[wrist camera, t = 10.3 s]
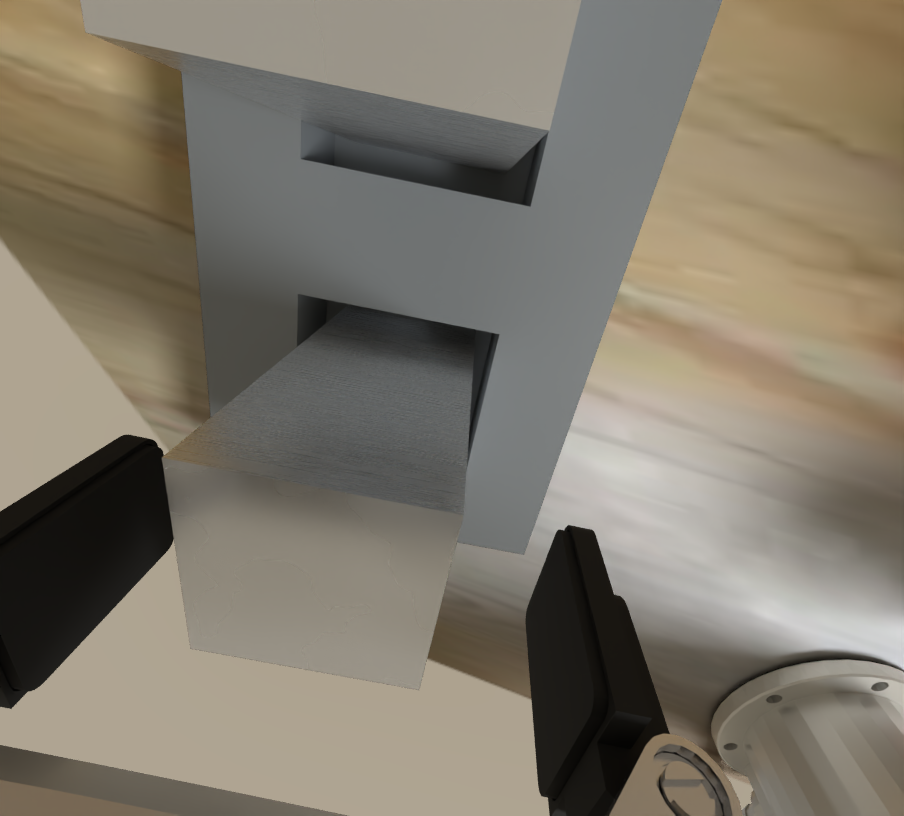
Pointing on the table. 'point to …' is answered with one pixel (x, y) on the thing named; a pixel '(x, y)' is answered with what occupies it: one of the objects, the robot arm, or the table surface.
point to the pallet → (449, 241)
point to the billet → (371, 65)
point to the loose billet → (329, 500)
